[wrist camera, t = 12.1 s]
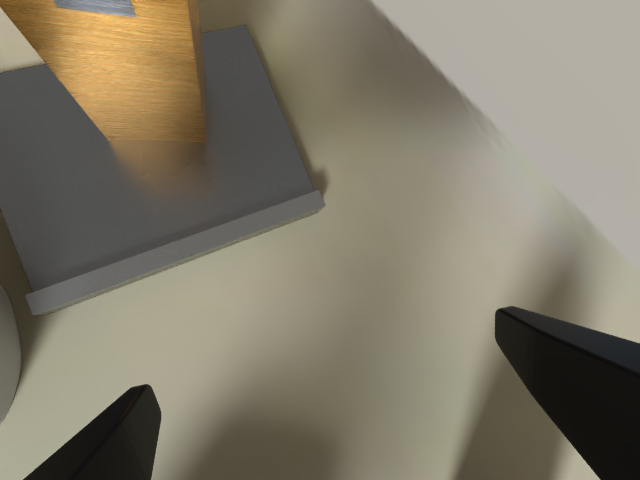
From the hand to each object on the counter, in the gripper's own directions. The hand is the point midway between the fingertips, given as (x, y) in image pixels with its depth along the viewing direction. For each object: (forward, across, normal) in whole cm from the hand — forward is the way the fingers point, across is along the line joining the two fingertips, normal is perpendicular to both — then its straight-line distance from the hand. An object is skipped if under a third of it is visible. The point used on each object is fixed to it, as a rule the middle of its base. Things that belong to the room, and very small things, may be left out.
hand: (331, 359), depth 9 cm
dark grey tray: (+14, +7, -5) cm, 16 cm away
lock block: (+14, +6, -8) cm, 17 cm away
